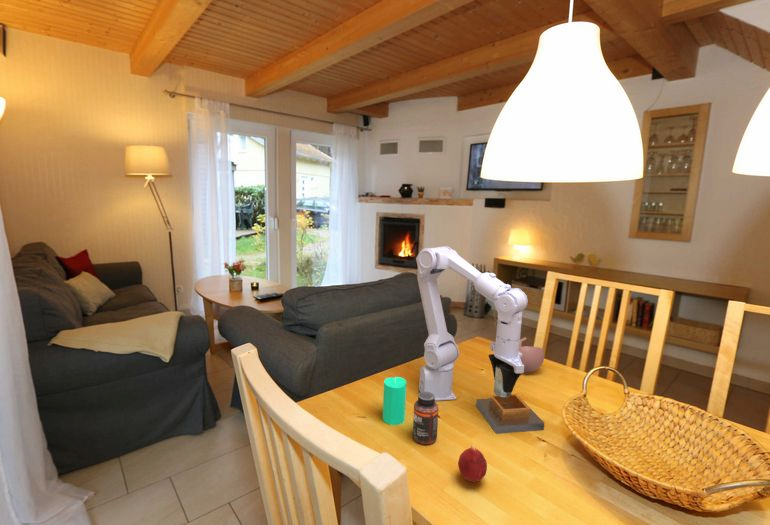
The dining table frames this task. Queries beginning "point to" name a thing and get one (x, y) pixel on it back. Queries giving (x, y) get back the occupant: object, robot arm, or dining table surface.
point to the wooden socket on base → (509, 414)
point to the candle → (394, 400)
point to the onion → (472, 464)
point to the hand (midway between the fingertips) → (503, 386)
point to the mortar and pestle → (531, 356)
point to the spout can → (500, 383)
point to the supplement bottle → (425, 418)
